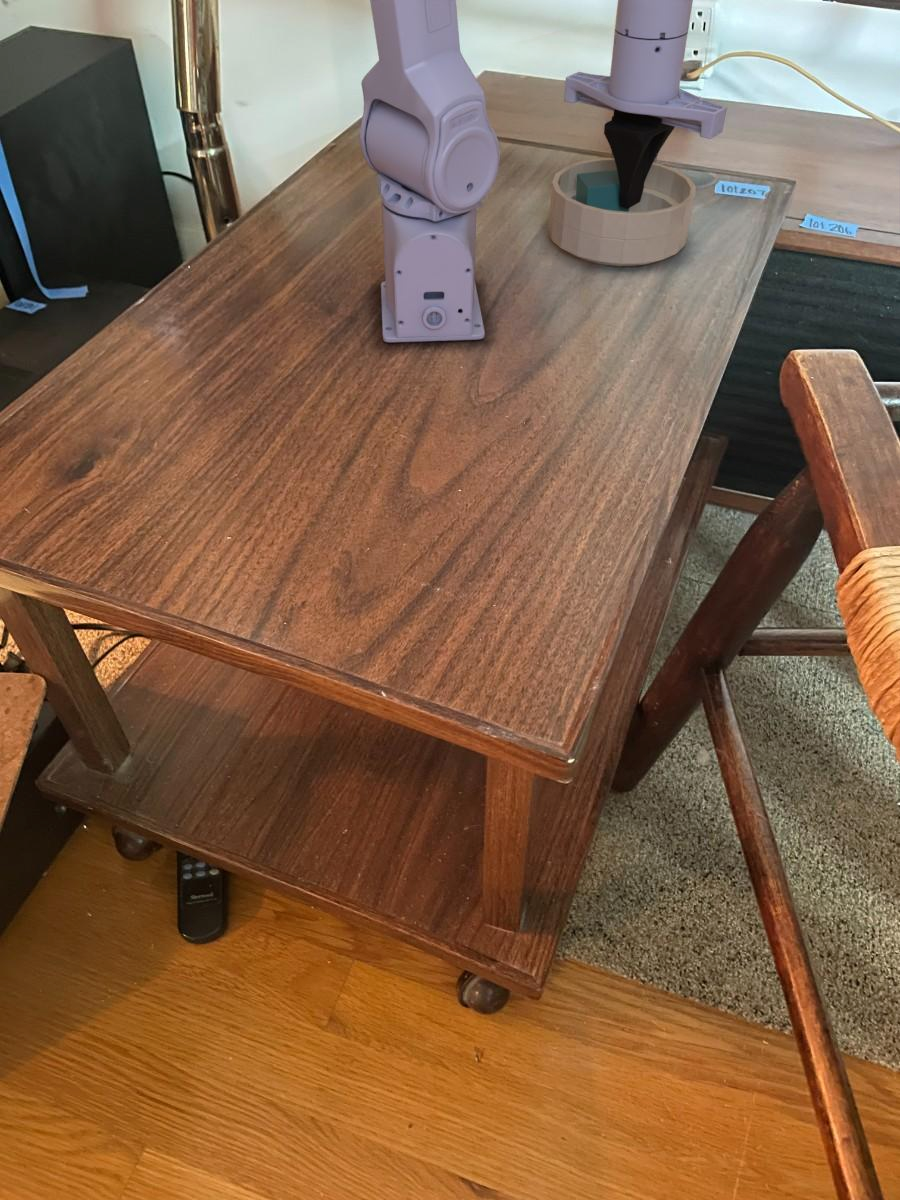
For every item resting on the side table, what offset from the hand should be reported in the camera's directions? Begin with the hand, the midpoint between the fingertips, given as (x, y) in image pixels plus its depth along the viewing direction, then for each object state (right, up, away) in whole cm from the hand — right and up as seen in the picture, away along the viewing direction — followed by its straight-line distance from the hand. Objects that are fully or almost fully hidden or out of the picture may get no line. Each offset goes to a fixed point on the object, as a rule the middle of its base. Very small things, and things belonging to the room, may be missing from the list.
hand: (628, 203), depth 80 cm
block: (-2, 0, +3) cm, 4 cm away
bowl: (-1, -2, +2) cm, 3 cm away
